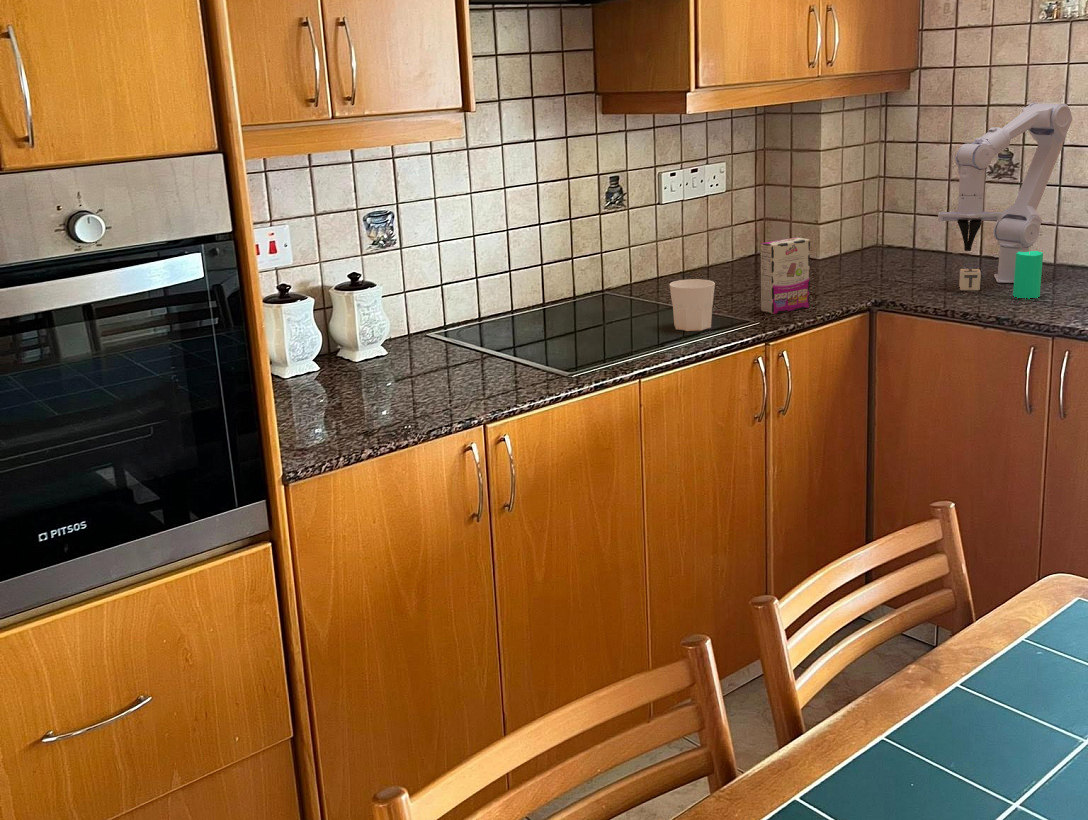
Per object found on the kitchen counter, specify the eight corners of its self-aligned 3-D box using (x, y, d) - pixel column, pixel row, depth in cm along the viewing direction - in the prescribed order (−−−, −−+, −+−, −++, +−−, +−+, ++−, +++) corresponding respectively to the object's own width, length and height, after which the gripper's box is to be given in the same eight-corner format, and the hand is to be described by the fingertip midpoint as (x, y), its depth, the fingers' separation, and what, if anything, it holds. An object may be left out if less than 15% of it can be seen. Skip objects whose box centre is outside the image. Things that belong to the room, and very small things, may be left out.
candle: (1041, 294, 277) (1045, 244, 274) (1037, 299, 272) (1041, 249, 269) (1015, 293, 280) (1018, 243, 277) (1010, 298, 276) (1014, 247, 272)
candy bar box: (796, 304, 280) (797, 236, 275) (810, 308, 275) (811, 239, 271) (758, 311, 275) (759, 242, 270) (772, 314, 271) (773, 244, 266)
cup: (668, 322, 268) (668, 280, 265) (712, 321, 267) (712, 278, 265) (672, 332, 258) (671, 289, 255) (717, 331, 258) (717, 287, 255)
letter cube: (959, 286, 291) (960, 268, 290) (978, 286, 290) (979, 268, 289) (960, 290, 287) (961, 272, 286) (979, 290, 286) (980, 272, 284)
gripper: (940, 196, 279) (937, 253, 283) (1004, 196, 275) (1000, 253, 279) (938, 193, 286) (935, 248, 290) (1001, 192, 282) (998, 248, 286)
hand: (967, 250), depth 285 cm, fingers closed
